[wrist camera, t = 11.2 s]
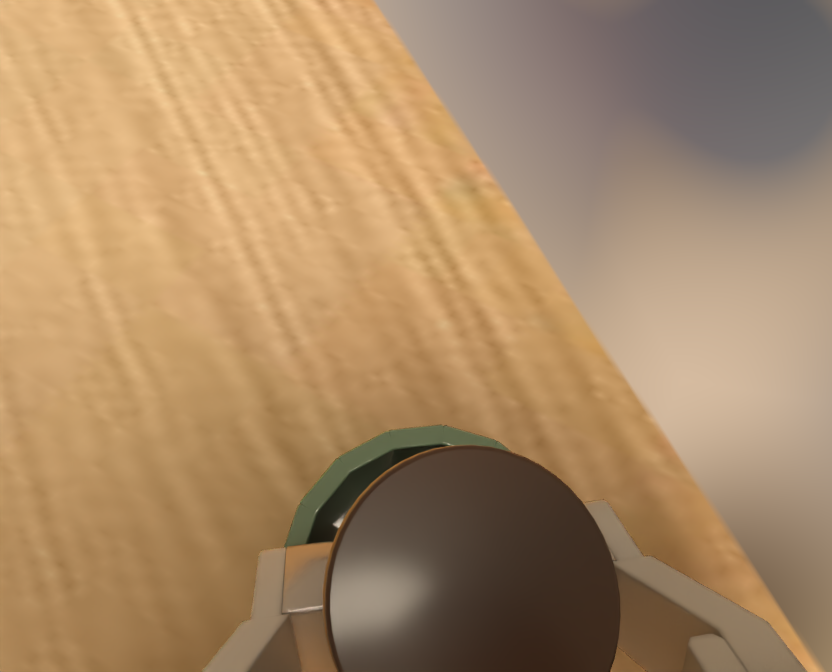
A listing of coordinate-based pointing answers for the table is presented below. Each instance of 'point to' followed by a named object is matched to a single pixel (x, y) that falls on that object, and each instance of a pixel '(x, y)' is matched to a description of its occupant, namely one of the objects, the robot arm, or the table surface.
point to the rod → (470, 571)
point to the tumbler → (366, 476)
